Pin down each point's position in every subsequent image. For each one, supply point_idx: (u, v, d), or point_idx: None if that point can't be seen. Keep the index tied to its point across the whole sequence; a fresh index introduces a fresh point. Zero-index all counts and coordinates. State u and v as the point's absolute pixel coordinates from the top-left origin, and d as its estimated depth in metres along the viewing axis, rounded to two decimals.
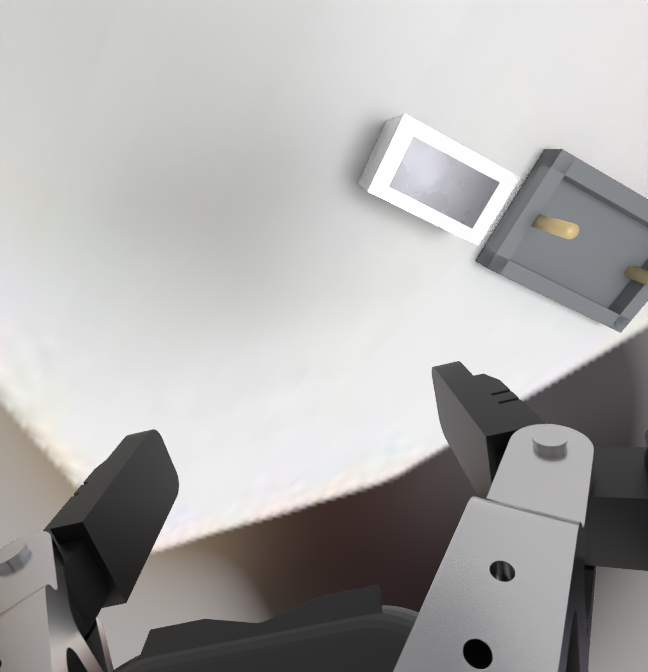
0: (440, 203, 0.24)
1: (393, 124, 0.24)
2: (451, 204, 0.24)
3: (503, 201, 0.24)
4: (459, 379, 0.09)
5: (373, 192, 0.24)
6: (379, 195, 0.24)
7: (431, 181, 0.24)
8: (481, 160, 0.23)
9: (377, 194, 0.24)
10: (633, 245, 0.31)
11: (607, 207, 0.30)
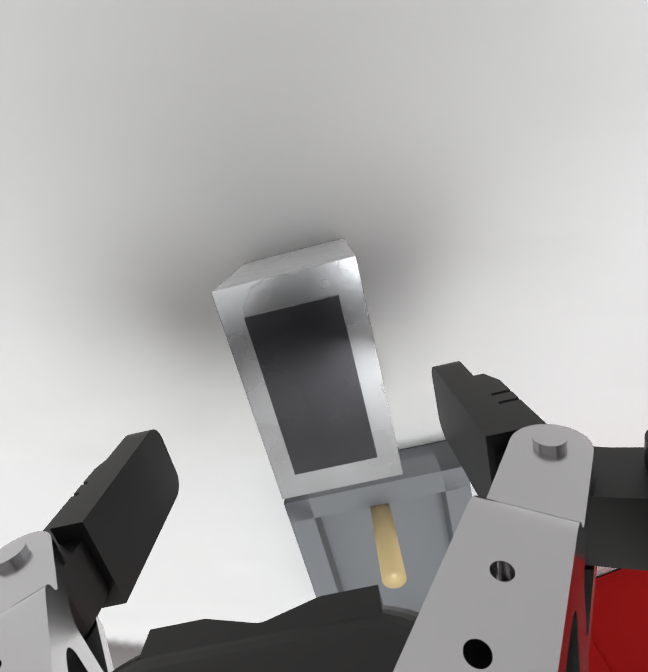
0: (287, 408, 0.13)
1: (337, 251, 0.14)
2: (300, 422, 0.14)
3: (360, 480, 0.14)
4: (459, 379, 0.09)
5: (217, 301, 0.12)
6: (221, 314, 0.12)
7: (305, 370, 0.13)
8: (383, 410, 0.13)
9: (220, 309, 0.12)
10: None
11: None
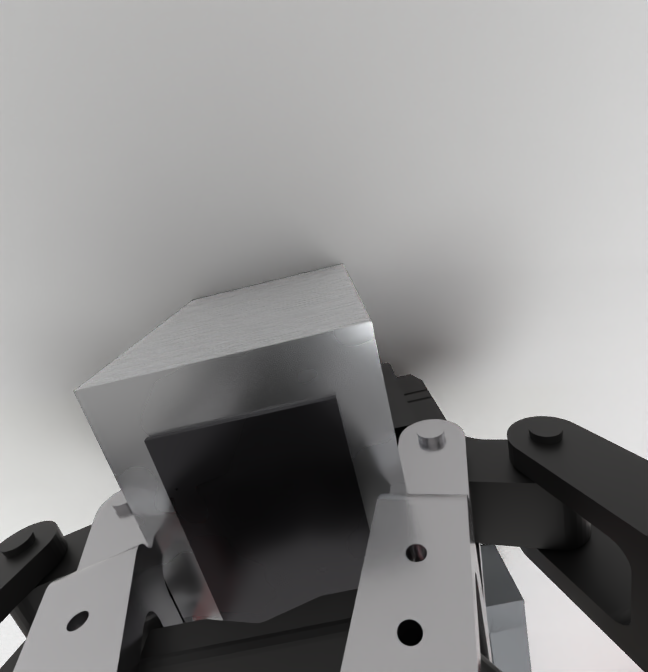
0: (238, 594, 0.07)
1: (333, 296, 0.08)
2: (264, 613, 0.07)
3: None
4: None
5: (87, 409, 0.06)
6: (99, 432, 0.06)
7: (271, 530, 0.07)
8: None
9: (95, 424, 0.06)
10: None
11: None
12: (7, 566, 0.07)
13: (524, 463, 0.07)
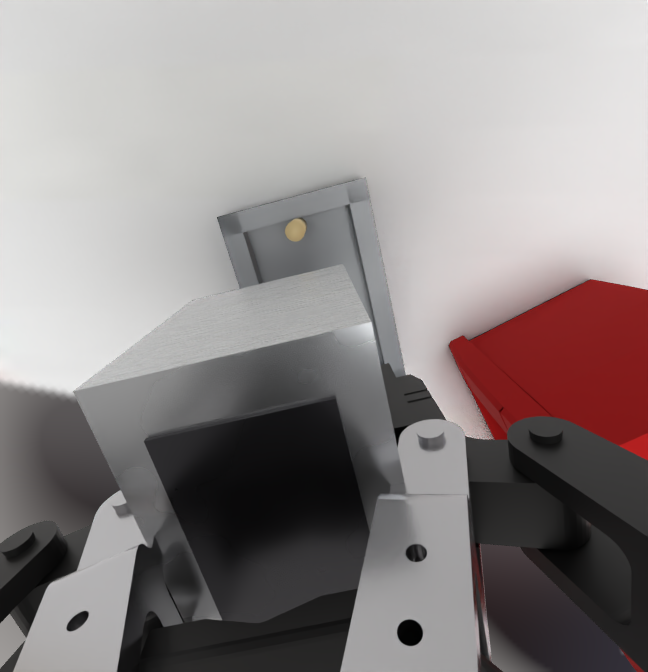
0: (237, 594, 0.07)
1: (333, 297, 0.08)
2: (264, 614, 0.07)
3: None
4: None
5: (87, 409, 0.06)
6: (99, 432, 0.06)
7: (271, 531, 0.07)
8: None
9: (95, 424, 0.06)
10: None
11: (363, 286, 0.26)
12: (7, 566, 0.07)
13: (524, 463, 0.07)
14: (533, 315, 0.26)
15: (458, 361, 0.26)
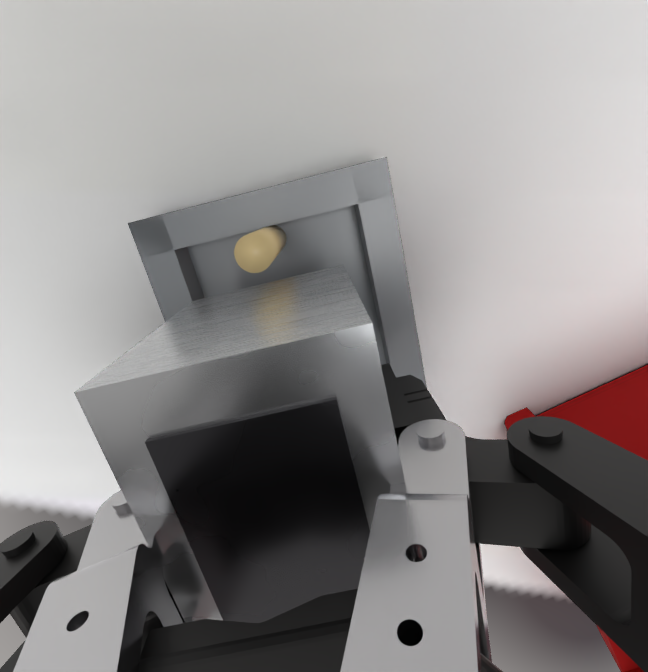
0: (238, 595, 0.07)
1: (333, 297, 0.08)
2: (265, 614, 0.07)
3: None
4: None
5: (88, 410, 0.06)
6: (100, 433, 0.06)
7: (271, 531, 0.07)
8: None
9: (96, 425, 0.06)
10: None
11: (376, 336, 0.16)
12: (7, 566, 0.07)
13: (524, 463, 0.07)
14: (645, 383, 0.17)
15: None
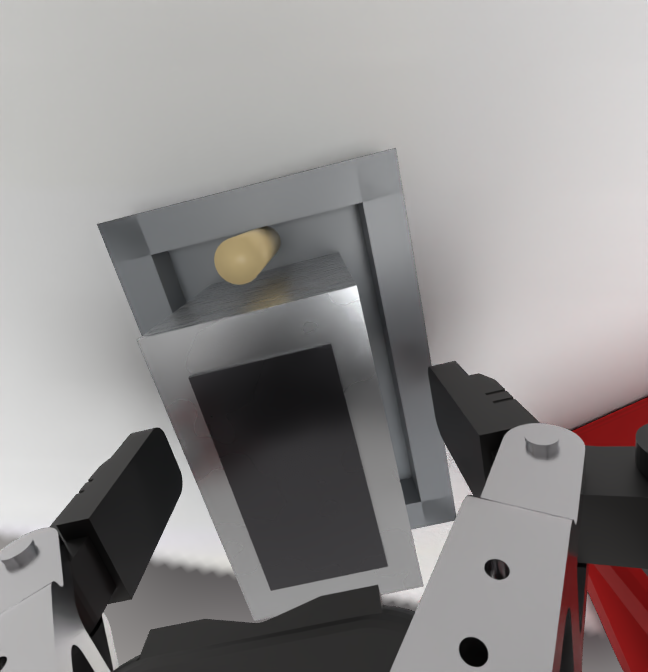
0: (257, 503, 0.09)
1: (329, 273, 0.10)
2: (277, 521, 0.09)
3: None
4: (454, 379, 0.10)
5: (146, 353, 0.08)
6: (154, 371, 0.08)
7: (282, 451, 0.09)
8: (397, 504, 0.09)
9: (152, 365, 0.08)
10: None
11: (382, 350, 0.14)
12: None
13: None
14: None
15: None
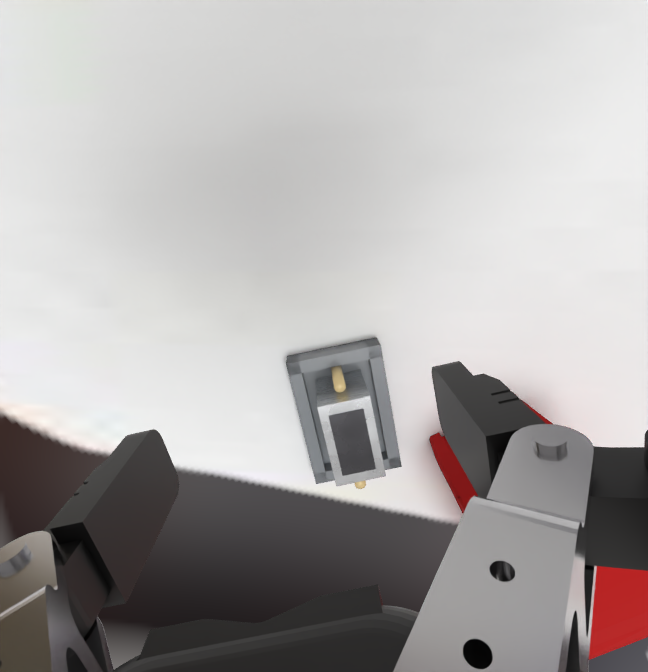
0: (341, 449, 0.34)
1: (361, 386, 0.35)
2: (346, 454, 0.34)
3: (368, 478, 0.35)
4: (459, 379, 0.09)
5: (319, 410, 0.33)
6: (320, 414, 0.33)
7: (349, 435, 0.34)
8: (378, 450, 0.34)
9: (319, 413, 0.33)
10: None
11: (374, 402, 0.40)
12: None
13: None
14: None
15: (435, 454, 0.39)
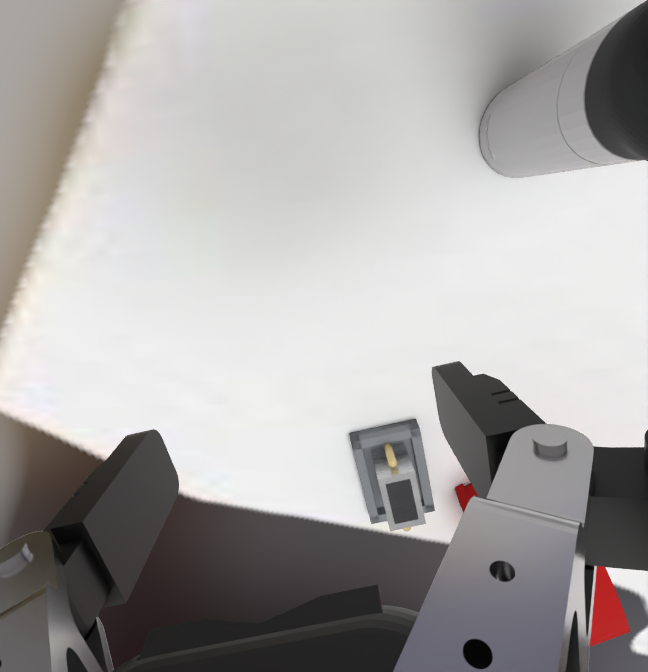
0: (394, 506, 0.48)
1: (407, 460, 0.49)
2: (397, 510, 0.48)
3: (413, 525, 0.49)
4: (459, 379, 0.09)
5: (378, 481, 0.47)
6: (379, 484, 0.47)
7: (400, 497, 0.48)
8: (420, 506, 0.48)
9: (379, 483, 0.47)
10: None
11: (414, 465, 0.54)
12: None
13: None
14: None
15: (460, 502, 0.53)
